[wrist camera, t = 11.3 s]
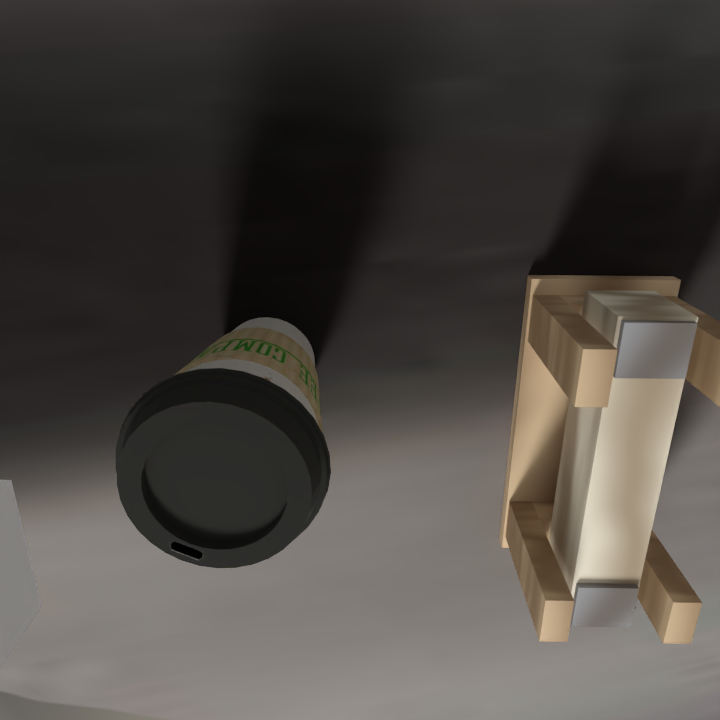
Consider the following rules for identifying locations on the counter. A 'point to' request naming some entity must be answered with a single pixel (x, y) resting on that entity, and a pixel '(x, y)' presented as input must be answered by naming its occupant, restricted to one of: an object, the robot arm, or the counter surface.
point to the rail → (619, 454)
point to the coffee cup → (228, 450)
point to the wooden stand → (545, 439)
